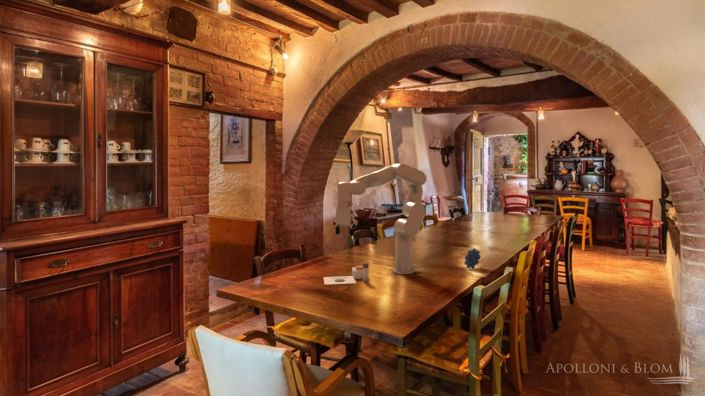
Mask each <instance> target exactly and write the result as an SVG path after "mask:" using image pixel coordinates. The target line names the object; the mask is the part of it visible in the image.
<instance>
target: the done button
mask: <svg viewBox="0 0 705 396" xmlns="http://www.w3.org/2000/svg"><path fill="white" fill-rule="evenodd" d="M355 267H356V270H363V264H362V265H356V266H355Z"/></svg>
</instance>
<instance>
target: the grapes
mask: <svg viewBox="0 0 705 396" xmlns="http://www.w3.org/2000/svg"><path fill="white" fill-rule="evenodd" d="M480 252H481V251H480V250H477V249H476V248H473V249H471V250H468V252H467V254H466V255H465V256H464V265H465V266H466V268H467V269H470V268H471V269H474V268H475V267H476V266H477V265H479V263H480V259H481V258H482V257H481V255H480Z"/></svg>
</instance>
